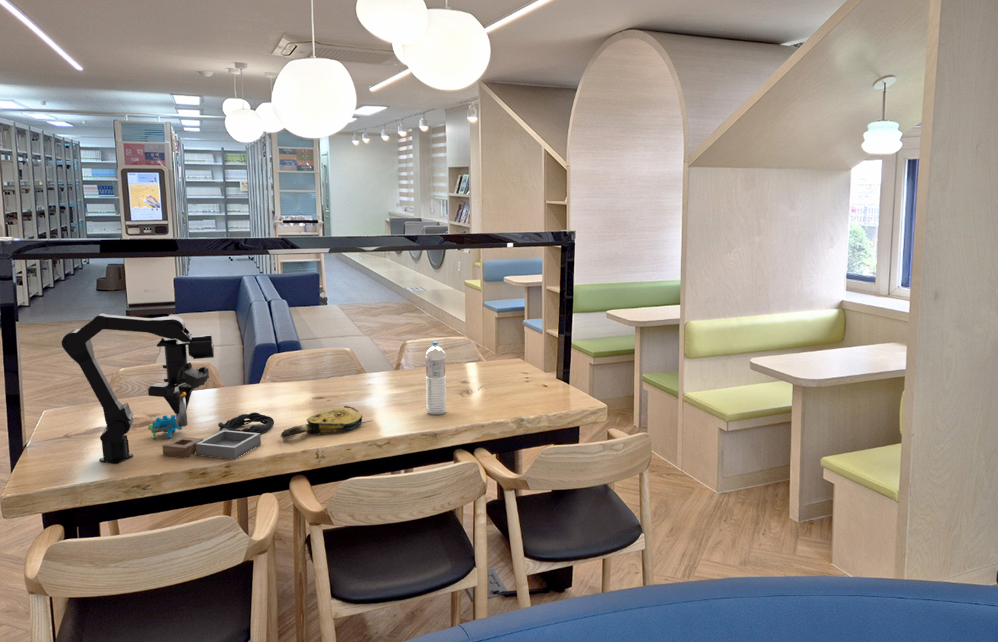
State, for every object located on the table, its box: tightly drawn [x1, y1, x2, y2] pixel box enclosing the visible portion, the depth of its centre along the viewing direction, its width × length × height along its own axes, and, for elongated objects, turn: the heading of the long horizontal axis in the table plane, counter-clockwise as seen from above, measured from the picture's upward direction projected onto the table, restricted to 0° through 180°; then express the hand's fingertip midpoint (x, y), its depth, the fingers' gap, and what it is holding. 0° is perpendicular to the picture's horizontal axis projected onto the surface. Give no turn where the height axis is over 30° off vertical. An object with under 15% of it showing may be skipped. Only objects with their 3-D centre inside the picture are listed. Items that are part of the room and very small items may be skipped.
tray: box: [195, 430, 262, 460], centre depth 220 cm, size 13×13×4 cm
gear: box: [148, 414, 186, 440], centre depth 232 cm, size 11×6×10 cm
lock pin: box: [175, 391, 189, 428], centre depth 216 cm, size 4×4×10 cm
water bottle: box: [424, 341, 447, 416], centre depth 254 cm, size 7×7×25 cm
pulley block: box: [279, 405, 374, 439], centre depth 238 cm, size 14×6×30 cm
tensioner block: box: [162, 436, 205, 458], centre depth 218 cm, size 8×8×3 cm
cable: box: [217, 412, 275, 435], centre depth 238 cm, size 17×14×4 cm
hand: (180, 412), depth 217 cm, fingers closed on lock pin, 3 cm apart
